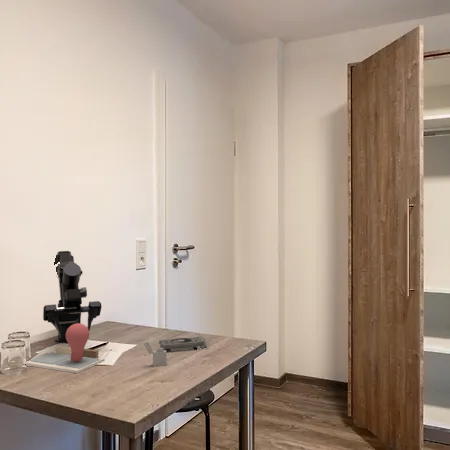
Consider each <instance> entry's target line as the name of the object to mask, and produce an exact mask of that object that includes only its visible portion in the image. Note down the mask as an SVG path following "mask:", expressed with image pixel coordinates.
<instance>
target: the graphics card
mask: <svg viewBox="0 0 450 450" xmlns="http://www.w3.org/2000/svg"><path fill="white" fill-rule="evenodd" d="M159 346H160V348H163V349H164V350H166V351H168V350H169V351H170V352H178V351H188V352H192V351H196V350H195V349H198V350H197V351H200V348H201V349H204V348H210V347H211V346H210V340H209V339H207V338H205V337H204V336H203V335H202V334H201V333H199V334H198V336H193V337H180V338H178V337H177V338H172V339H171V338H169V339H160V340H159ZM204 350H205V349H204Z"/></svg>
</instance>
